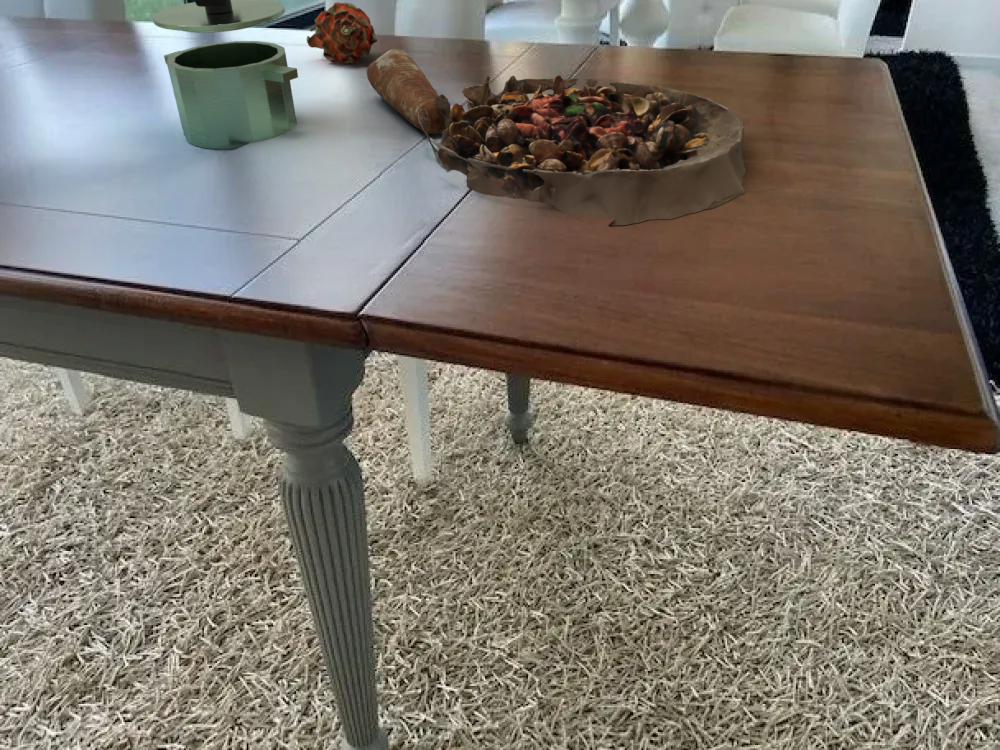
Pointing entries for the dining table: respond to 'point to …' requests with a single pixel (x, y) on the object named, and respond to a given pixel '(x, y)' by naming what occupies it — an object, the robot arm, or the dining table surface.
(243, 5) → the lid
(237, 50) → the pot
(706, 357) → the dining table surface
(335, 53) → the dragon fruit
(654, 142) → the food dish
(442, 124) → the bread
